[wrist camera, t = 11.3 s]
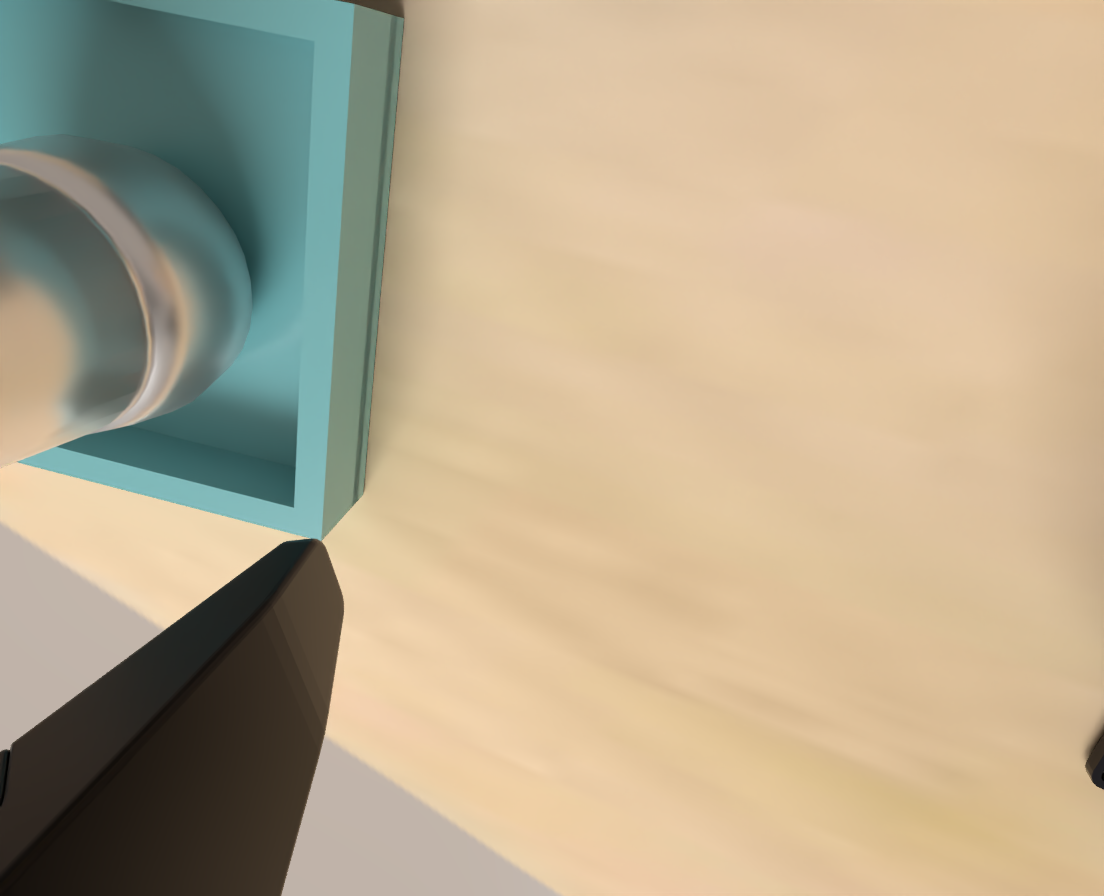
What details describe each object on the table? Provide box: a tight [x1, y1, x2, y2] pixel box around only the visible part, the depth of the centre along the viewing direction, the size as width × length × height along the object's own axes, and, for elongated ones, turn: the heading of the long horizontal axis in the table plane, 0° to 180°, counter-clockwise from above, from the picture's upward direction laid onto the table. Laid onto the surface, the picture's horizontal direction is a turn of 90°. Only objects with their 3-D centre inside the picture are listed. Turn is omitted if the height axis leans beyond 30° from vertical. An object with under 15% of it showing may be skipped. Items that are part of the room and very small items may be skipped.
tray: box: [0, 0, 404, 541], centre depth 20 cm, size 13×13×3 cm
